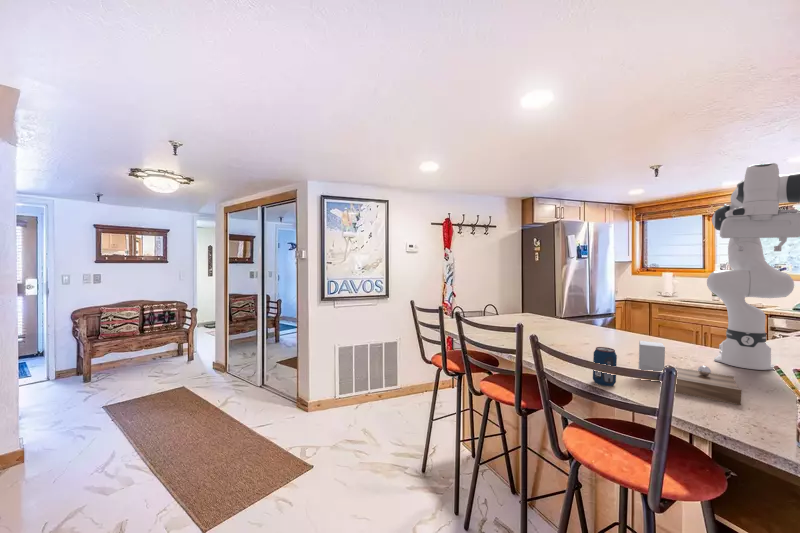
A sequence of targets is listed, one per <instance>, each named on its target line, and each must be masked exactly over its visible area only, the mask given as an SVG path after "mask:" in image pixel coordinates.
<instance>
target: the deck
mask: <svg viewBox="0 0 800 533" xmlns="http://www.w3.org/2000/svg"><path fill="white" fill-rule="evenodd" d="M676 369H677V371H678V377H677V384H676V392H675V393H676V394H682V395H685V396H686V395H687V396H690V397H691V396H692V397H697V398H701V399H702V398H703V399H706V400H707V399H708V400H713V401H718V402H721V403H722V402H723V403H728V404H732V405H738V406H741V405H742V392H743V391H742V389H741V388H739V387H738V385H737V382H736V380H735V378H734V376H731V375H725V374H720V373H719V374H718V373H713V372H711V374H710V375H709V376H702V375H700V374H699V372H698V370H696V369H695V370H693V369H687V368H682V367H675V370H676Z"/></svg>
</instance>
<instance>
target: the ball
mask: <svg viewBox="0 0 800 533" xmlns="http://www.w3.org/2000/svg"><path fill="white" fill-rule="evenodd" d="M697 371H698V372H699V374H700V375H702V376H709V375H710V374H711V373H712V370H711V369H710V367H708V366H707V365H700V366H699V367H698V368H697Z"/></svg>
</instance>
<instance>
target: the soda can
mask: <svg viewBox="0 0 800 533" xmlns="http://www.w3.org/2000/svg"><path fill="white" fill-rule="evenodd" d="M617 359H618V355H617V354H616V349H614V348H611V347H606V346H596V347H595V349H594V351H593V360H592V363H593V362H595V363H600V364H606V365H611V366H616V367H617ZM592 380H593V381H594V383H595V385H598V386H601V387H605V388H606V387H607V388H609V387H610V388H611V387H614V385H615V384H616V382H617V374H616V375H611V374H607V373H602V372H598V371H594V370H593V369H592Z"/></svg>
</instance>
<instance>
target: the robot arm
mask: <svg viewBox="0 0 800 533" xmlns="http://www.w3.org/2000/svg"><path fill="white" fill-rule="evenodd" d="M730 202H731V203H730V204H727V203H724V204H723V206H721V207H719V208H718V209H716V210H715V211H714V213H713V215H712V217H711V222H712V225H713V228H714V229H715V230H716V231H719V237H720V238H721V239H729V241H728V246H727V255H728V264H729V267H730V268H731V269H724V270H723V269H720V270H714V271H712V272H711V273H710V274H709V275H708V277H707V279H706V286H707V288H708V290H709V291H710V292H712V293H713V294H714V295H715V296H717V297H718V298H719V300H721V301H722V302H723V304H724V306H725V308H726V310H727V323H728V324H727V325H728V326H727V328H726V330H725V337H726V339H725V340H723V341H722V342H721V343H719V347H718V349H719V354H718V355H717V356H716V357H714V360H713V361H715V362H719V363H723V364H725V365H729V366H733V367H737V368H743V369H748V370H749V369H750V370H759V371H767V370H771V371H772V370H773V371H774V369H773V367H774V366H775V365H774V364H772V348H771V347H770V346H769V345H768V344H767V343H766V342H767V339H768V337H767V336H768V335H767V333H766V319H767V318H766V314H765V312H764V311H763V310H762V309H760V308H758V307H756V306H754V305H752V304H749V303H748V302H747V301H746V299H745V298H758V299H778V298H786V297H788V296H790V294H792V293H793V291H794V288H795V282H794V279H793V278H792V276H790V275H789V274H788V273H786V272H783V271H780V270H778V269H777V268H775V267H773V266H772V265H770V264H769V262H767V261H766V260H765V256H764V250H763V245H762V242H761V239H764V238H766V239H769V238H770V239H771V238H772V239H777V238H778V241H779V242H780V243H778V244H777V245H774V246H773V252H782V247H783V246H784V245H785V243H786V242H787V239H788V238H789V239H792V238H800V210H798V209H794V208H793V209H779V208H780V207H779V206H780V205H779V204H783V203H784V204H785V203H789V204H794V203H795V204H796V203H798V204H799V203H800V172H795V173H789V174H780V169H779V164H778V163H775V162H766V163H757V164H751V165H749V166H747V167H746V171H745V174H744V179H743V180H741V181H740V182H738V183H737V184H736V188H735V189H734V191H733V192H732V193H731V196H730Z"/></svg>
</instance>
